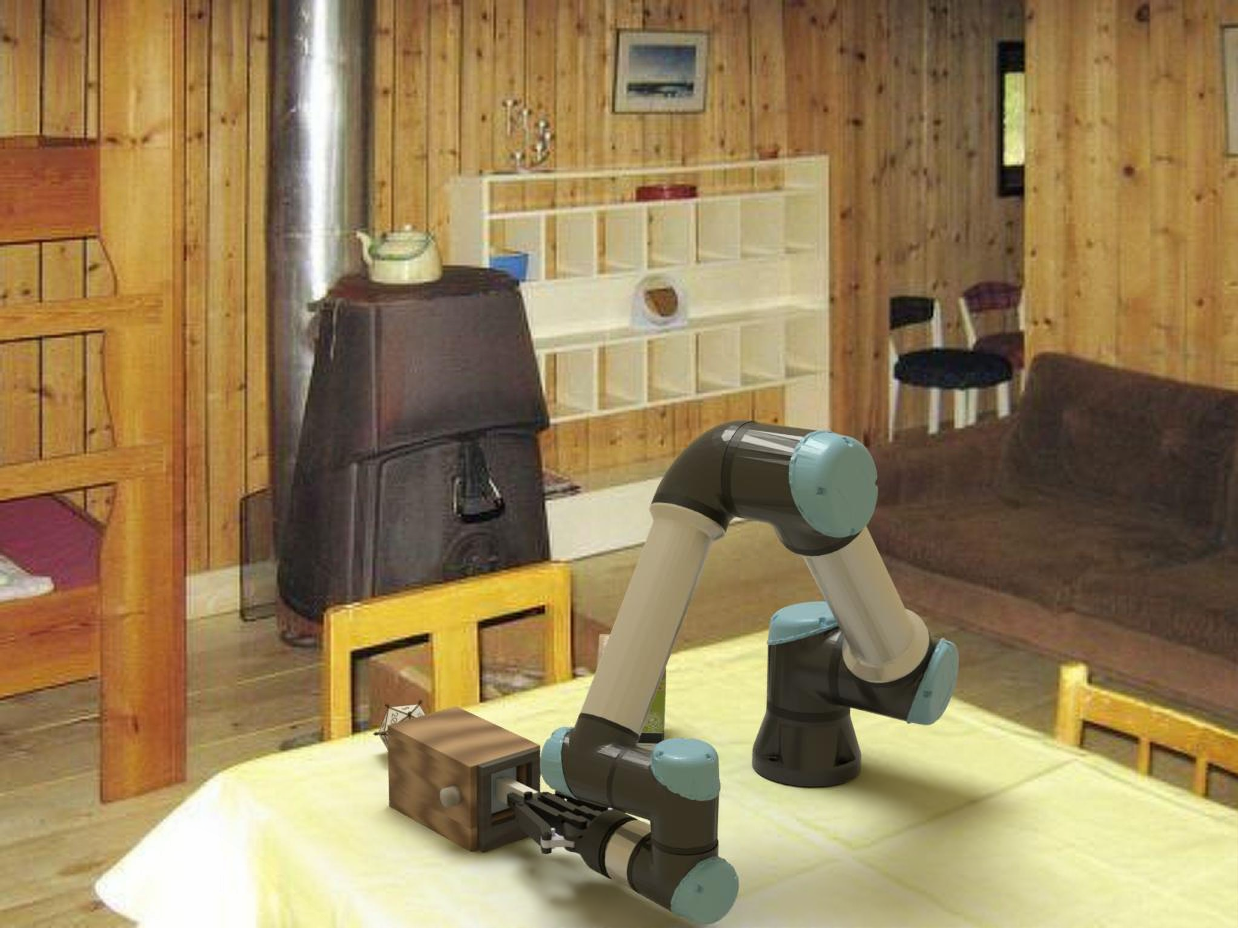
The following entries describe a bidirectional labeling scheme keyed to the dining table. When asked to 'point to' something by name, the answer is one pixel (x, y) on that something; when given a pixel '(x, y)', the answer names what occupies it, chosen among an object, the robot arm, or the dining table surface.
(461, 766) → the wooden peg box
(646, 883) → the robot arm
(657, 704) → the tea box
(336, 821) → the dining table surface
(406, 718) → the game die
